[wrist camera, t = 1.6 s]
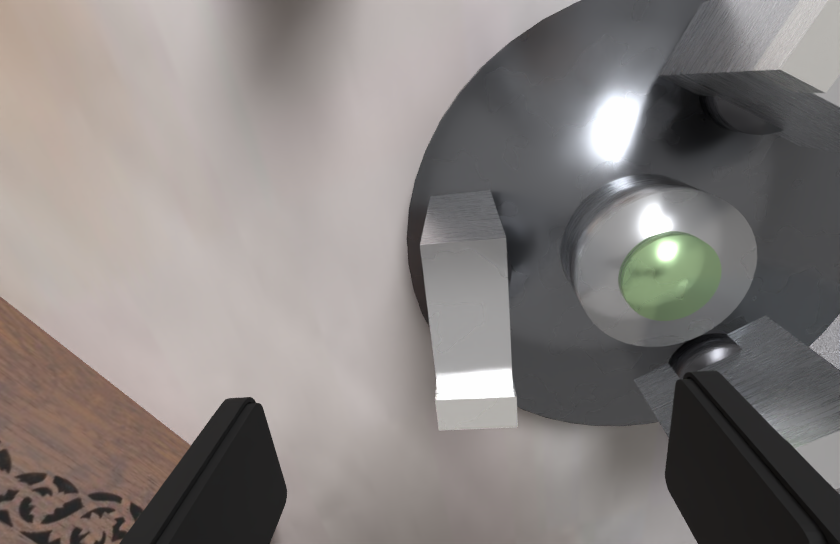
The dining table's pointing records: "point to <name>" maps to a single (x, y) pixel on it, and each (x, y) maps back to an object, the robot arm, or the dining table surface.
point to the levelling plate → (600, 135)
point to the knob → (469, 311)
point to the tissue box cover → (71, 445)
